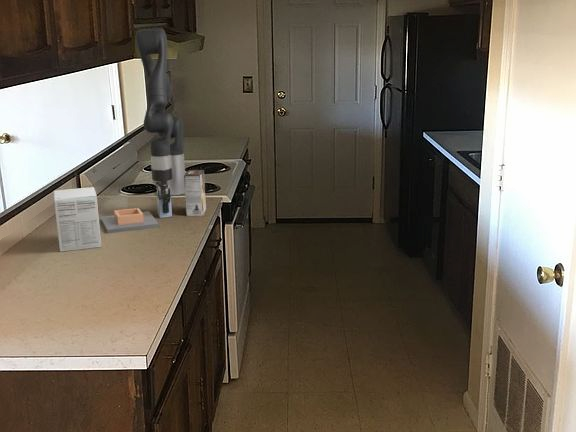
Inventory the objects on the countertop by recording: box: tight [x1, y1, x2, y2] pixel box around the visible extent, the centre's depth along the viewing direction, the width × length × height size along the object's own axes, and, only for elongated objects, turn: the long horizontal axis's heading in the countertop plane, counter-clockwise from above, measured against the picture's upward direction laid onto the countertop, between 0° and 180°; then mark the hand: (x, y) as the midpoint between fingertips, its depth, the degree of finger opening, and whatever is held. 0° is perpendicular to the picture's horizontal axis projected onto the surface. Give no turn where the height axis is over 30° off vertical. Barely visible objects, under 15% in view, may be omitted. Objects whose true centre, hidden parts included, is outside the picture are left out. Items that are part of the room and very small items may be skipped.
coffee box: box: [184, 169, 207, 217], centre depth 247 cm, size 9×6×16 cm
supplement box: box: [53, 186, 102, 253], centre depth 213 cm, size 13×13×18 cm
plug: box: [155, 193, 173, 219], centre depth 245 cm, size 4×4×8 cm
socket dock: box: [100, 207, 160, 234], centre depth 237 cm, size 18×18×4 cm
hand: (164, 210), depth 245 cm, fingers closed on plug, 4 cm apart
